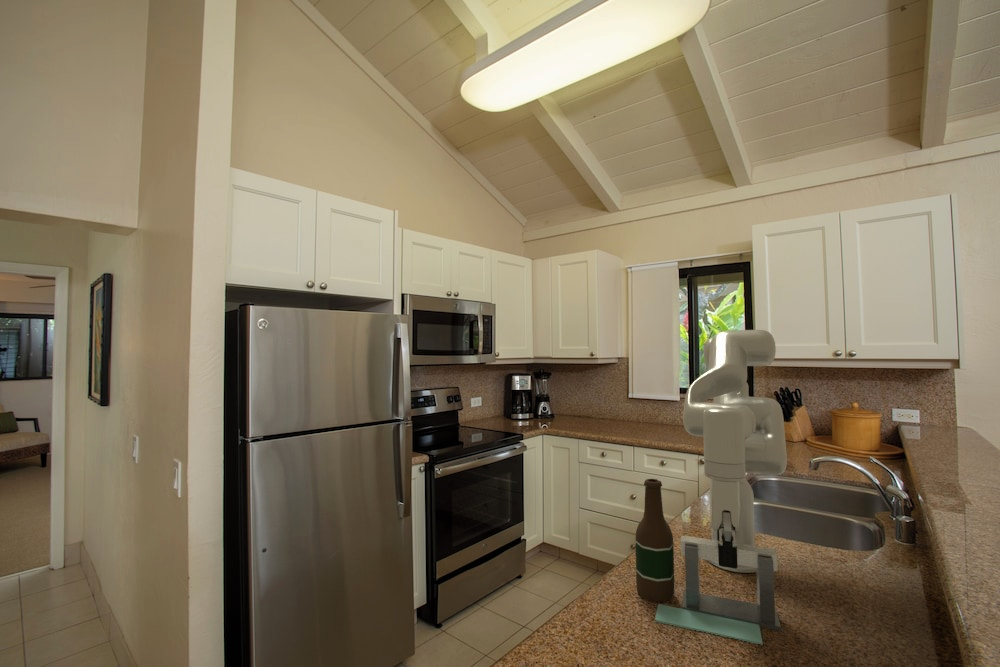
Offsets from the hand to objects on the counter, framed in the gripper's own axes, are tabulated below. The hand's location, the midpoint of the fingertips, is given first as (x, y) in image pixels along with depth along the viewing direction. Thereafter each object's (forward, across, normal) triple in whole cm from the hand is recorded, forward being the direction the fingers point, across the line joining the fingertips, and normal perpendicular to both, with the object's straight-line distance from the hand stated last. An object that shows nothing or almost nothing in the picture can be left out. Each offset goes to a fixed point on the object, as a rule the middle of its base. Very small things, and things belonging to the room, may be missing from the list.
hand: (727, 556), depth 91 cm
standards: (+11, -1, 0) cm, 11 cm away
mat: (+11, +6, -4) cm, 13 cm away
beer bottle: (+11, -2, -14) cm, 18 cm away
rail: (+1, 0, 0) cm, 1 cm away
